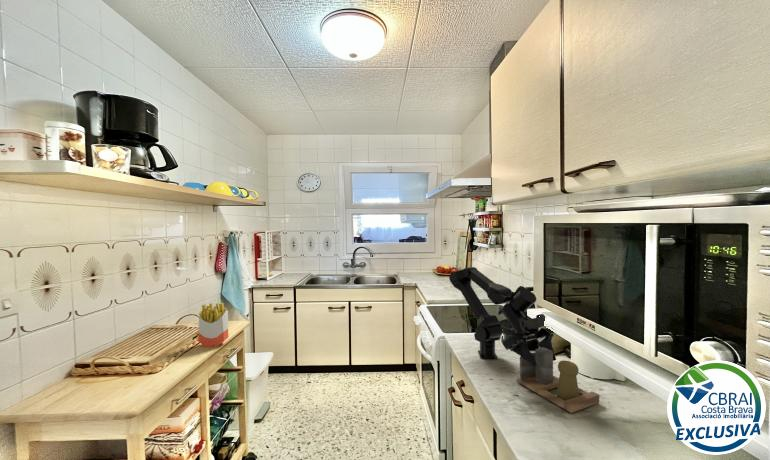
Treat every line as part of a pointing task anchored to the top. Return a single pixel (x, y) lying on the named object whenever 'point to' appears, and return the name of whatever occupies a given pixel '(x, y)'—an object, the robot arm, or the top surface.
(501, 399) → the top surface
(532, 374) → the wooden shape sorter tray
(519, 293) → the robot arm
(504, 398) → the top surface
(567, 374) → the tan rounded peg
